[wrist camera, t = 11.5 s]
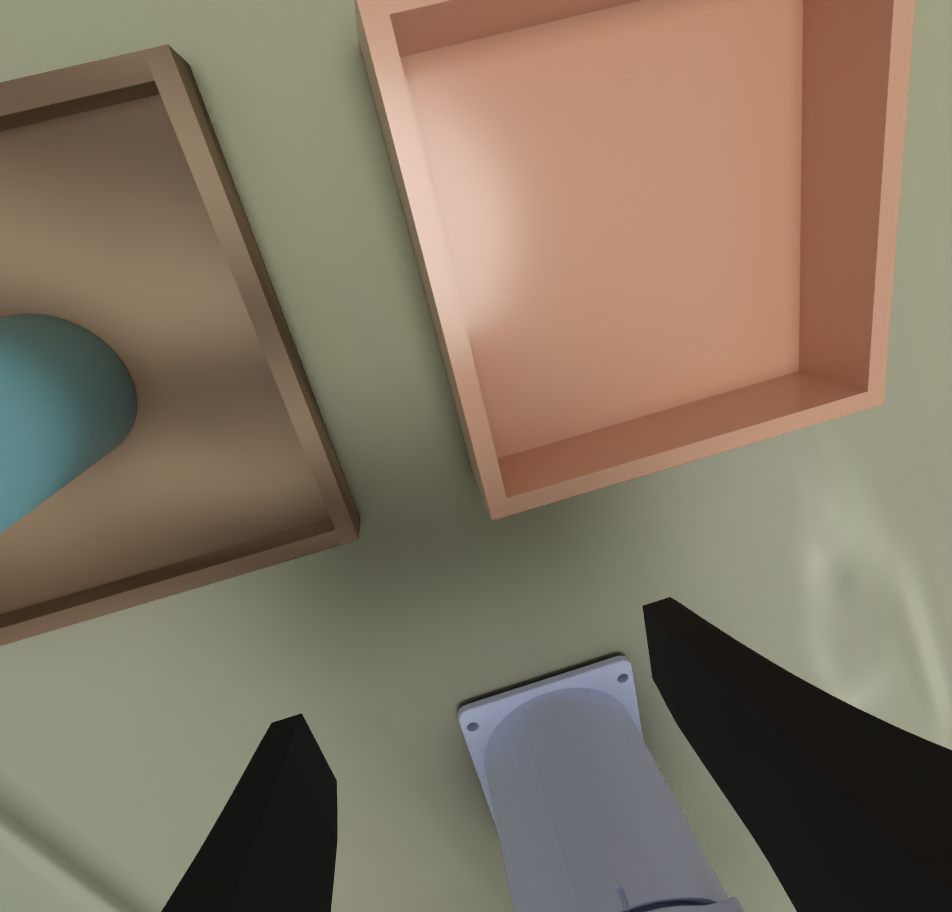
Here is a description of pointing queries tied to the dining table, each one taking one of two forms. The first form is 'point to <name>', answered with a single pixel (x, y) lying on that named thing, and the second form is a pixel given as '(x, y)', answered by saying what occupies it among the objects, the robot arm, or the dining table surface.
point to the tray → (155, 349)
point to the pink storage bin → (645, 220)
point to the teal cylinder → (55, 408)
